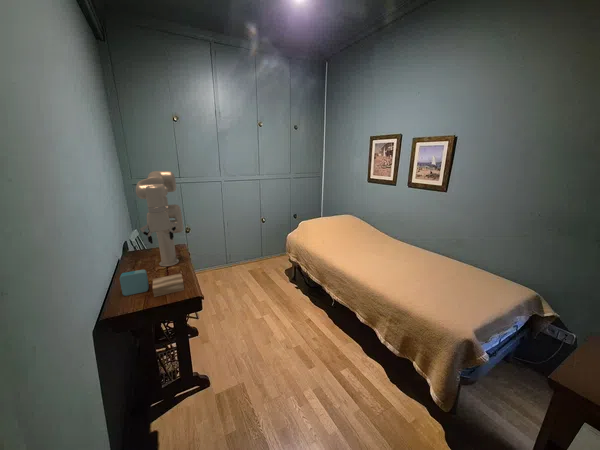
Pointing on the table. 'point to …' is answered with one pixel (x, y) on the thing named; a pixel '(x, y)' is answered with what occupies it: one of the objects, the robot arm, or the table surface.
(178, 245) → the table surface
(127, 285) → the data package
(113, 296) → the table surface
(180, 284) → the birch riser block
